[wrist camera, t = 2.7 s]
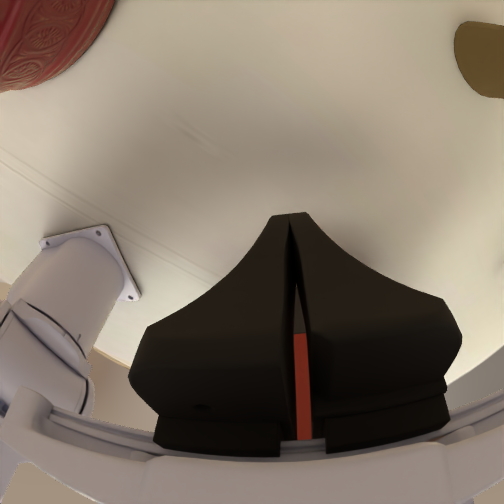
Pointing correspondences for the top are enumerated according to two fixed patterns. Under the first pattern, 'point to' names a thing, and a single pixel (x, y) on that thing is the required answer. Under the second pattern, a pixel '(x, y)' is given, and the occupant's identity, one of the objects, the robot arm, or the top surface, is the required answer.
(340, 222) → the top surface
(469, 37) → the olive brown oblong piece
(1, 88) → the kitchen canister
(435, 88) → the top surface
